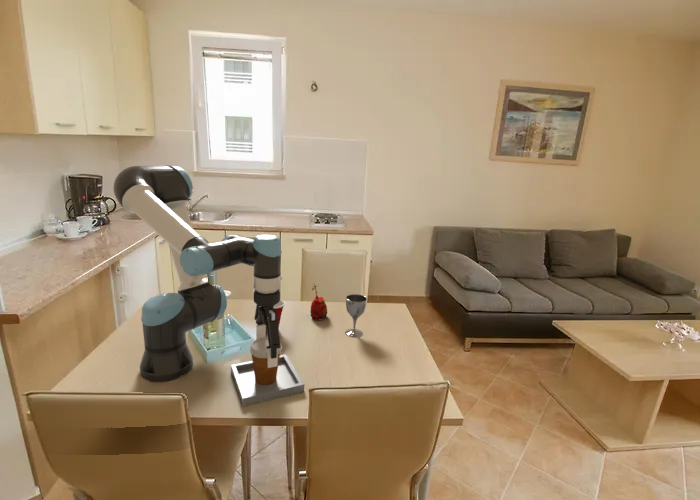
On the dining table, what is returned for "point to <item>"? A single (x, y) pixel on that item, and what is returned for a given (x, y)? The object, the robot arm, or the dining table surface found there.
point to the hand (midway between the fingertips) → (266, 354)
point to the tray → (256, 393)
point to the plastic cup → (278, 310)
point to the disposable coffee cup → (263, 362)
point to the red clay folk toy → (318, 307)
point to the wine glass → (355, 312)
